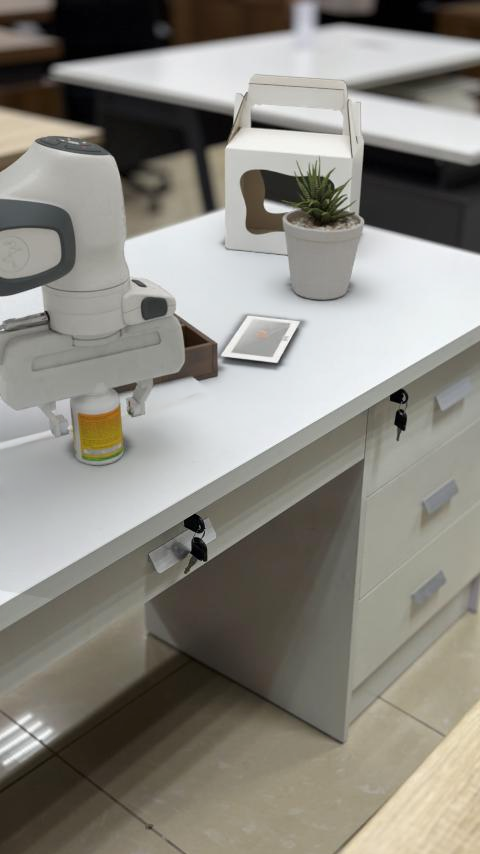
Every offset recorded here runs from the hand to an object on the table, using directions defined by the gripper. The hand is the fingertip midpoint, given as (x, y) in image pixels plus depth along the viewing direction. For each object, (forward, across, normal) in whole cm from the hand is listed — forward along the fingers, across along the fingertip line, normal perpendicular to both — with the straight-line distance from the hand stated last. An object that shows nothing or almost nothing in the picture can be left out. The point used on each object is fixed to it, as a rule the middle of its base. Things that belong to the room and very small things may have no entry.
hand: (98, 423), depth 104 cm
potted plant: (+4, +52, +31) cm, 61 cm away
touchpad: (+4, +32, +17) cm, 36 cm away
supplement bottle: (+4, 0, 0) cm, 4 cm away
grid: (+4, +14, +19) cm, 24 cm away
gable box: (+4, +61, +53) cm, 81 cm away
